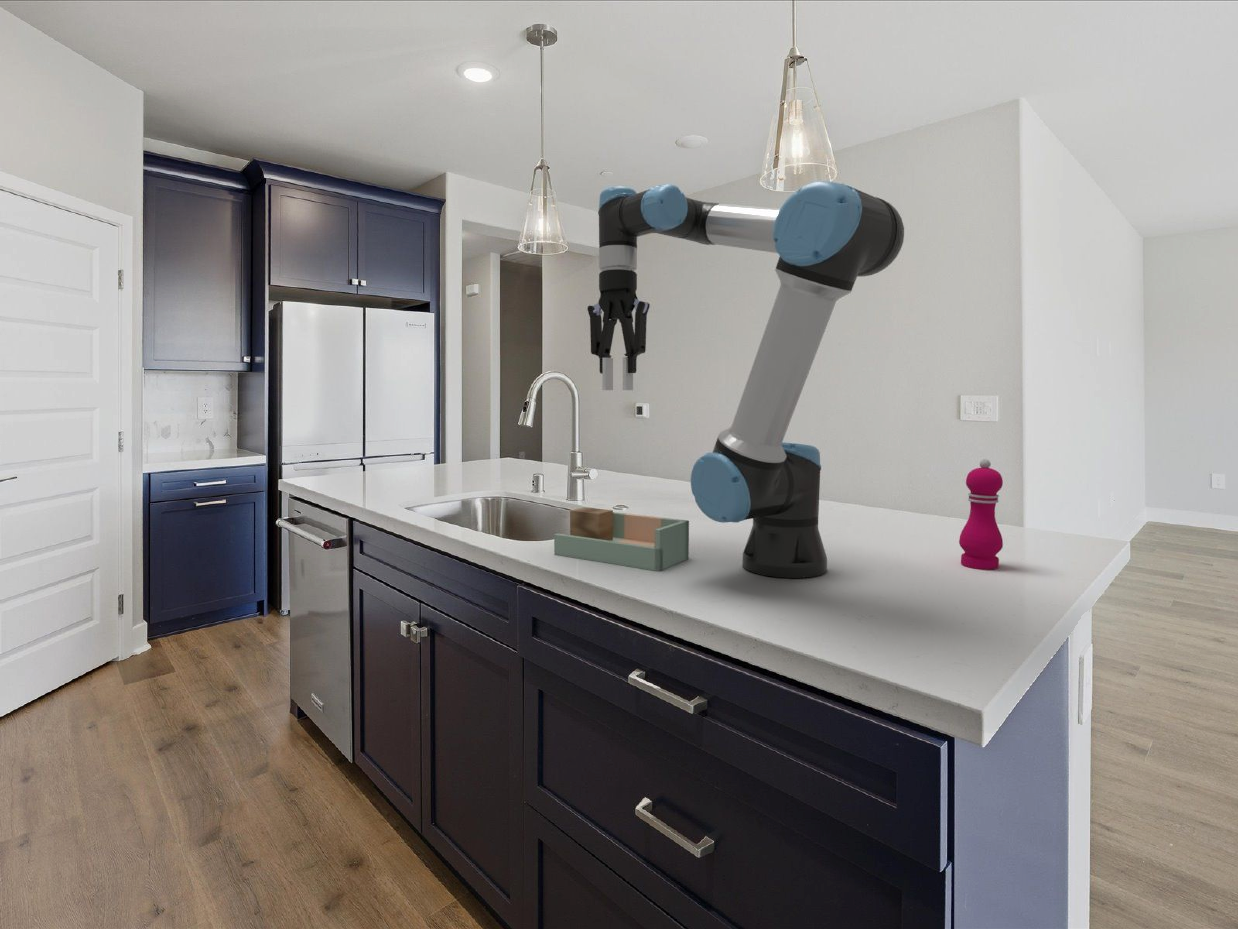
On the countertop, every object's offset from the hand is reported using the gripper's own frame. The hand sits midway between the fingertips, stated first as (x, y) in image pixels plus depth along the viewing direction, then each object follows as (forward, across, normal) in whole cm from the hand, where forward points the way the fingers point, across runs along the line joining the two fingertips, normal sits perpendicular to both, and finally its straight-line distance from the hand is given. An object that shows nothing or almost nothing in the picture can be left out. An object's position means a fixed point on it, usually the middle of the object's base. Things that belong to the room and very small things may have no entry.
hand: (617, 389), depth 137 cm
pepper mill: (+33, -64, -26) cm, 76 cm away
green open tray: (+33, -4, +5) cm, 33 cm away
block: (+30, +3, +5) cm, 31 cm away
